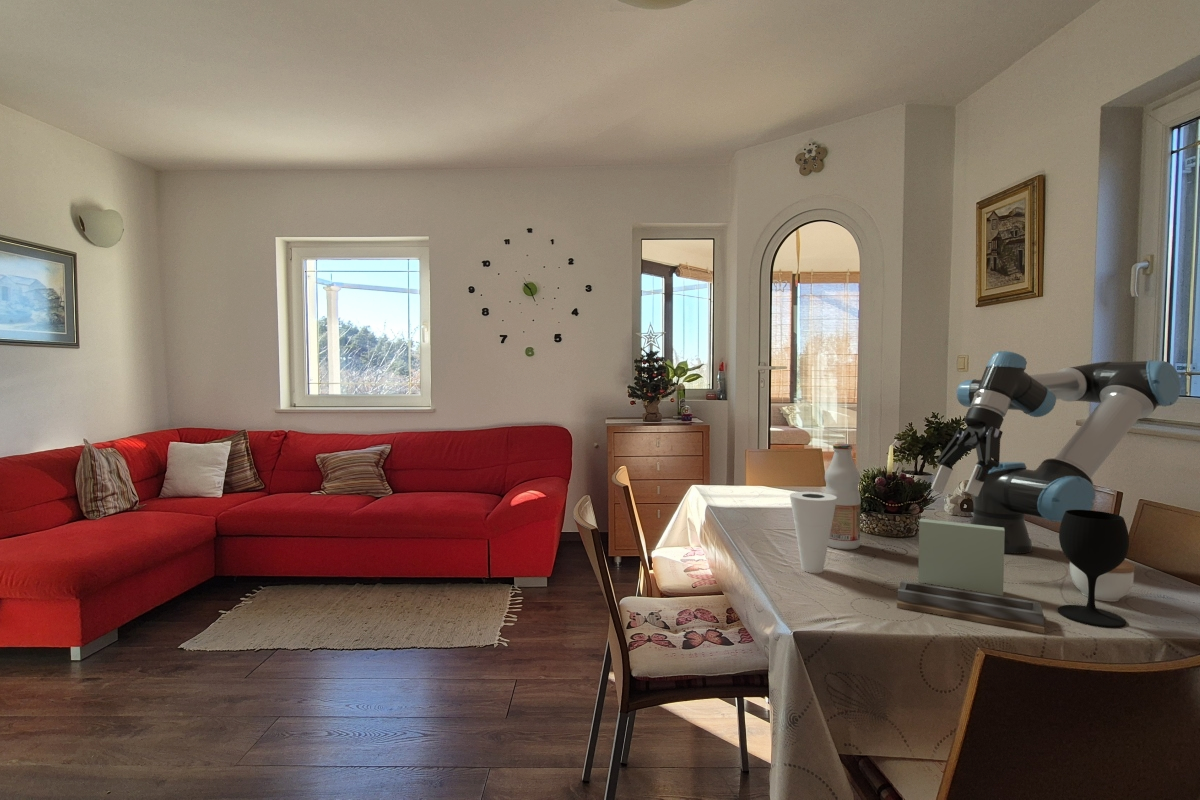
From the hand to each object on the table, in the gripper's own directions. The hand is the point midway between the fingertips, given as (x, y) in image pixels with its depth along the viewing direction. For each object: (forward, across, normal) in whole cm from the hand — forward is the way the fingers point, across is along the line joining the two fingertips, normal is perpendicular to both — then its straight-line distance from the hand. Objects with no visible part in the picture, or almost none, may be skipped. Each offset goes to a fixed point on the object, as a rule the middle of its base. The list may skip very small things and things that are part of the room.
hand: (953, 492), depth 142 cm
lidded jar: (+10, +14, +29) cm, 33 cm away
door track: (+25, +21, 0) cm, 33 cm away
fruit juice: (+22, -26, -8) cm, 34 cm away
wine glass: (+16, +24, +20) cm, 35 cm away
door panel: (+20, +7, +5) cm, 22 cm away
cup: (+31, -5, -21) cm, 38 cm away
